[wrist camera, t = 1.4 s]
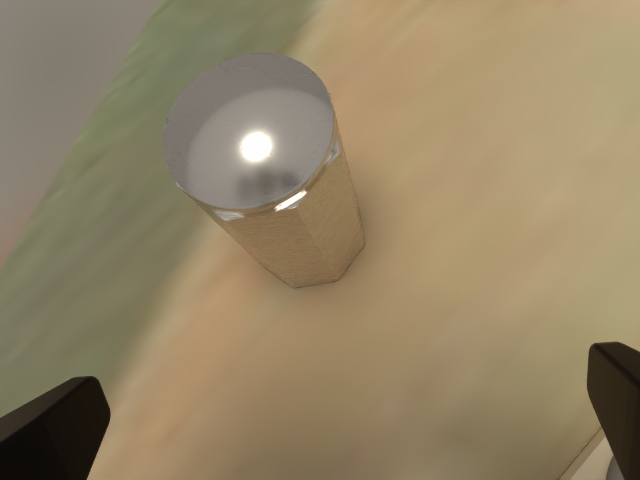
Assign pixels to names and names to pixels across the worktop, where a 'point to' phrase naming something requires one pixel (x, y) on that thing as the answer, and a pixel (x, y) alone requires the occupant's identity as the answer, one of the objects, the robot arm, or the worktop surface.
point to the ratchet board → (594, 462)
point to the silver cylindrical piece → (268, 165)
